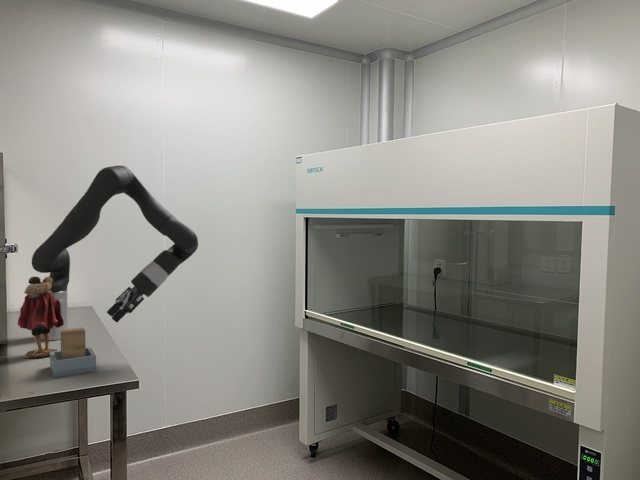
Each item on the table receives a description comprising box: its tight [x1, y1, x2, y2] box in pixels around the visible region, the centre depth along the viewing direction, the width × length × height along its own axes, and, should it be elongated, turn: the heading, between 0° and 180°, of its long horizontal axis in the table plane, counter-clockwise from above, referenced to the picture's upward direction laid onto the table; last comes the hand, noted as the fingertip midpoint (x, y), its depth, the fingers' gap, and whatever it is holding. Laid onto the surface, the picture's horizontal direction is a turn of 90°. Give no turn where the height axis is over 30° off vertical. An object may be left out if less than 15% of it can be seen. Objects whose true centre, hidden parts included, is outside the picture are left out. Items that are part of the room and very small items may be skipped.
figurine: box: [17, 276, 64, 359], centre depth 157 cm, size 12×11×25 cm
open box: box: [49, 346, 97, 378], centre depth 144 cm, size 11×11×4 cm
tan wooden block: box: [60, 326, 86, 360], centre depth 144 cm, size 5×6×10 cm
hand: (111, 317), depth 151 cm, fingers open, 8 cm apart
